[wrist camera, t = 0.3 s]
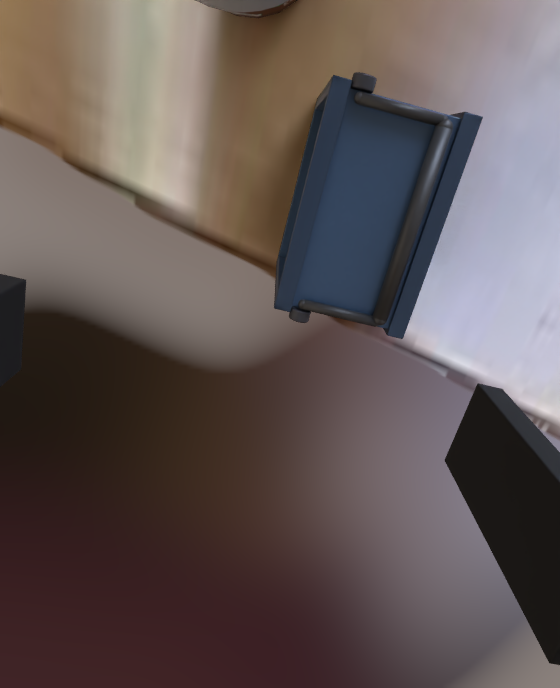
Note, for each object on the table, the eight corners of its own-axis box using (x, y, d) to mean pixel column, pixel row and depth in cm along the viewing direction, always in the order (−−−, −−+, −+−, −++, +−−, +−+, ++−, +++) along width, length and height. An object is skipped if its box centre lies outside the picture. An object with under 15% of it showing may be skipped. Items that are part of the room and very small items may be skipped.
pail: (318, 92, 37) (336, 64, 24) (422, 121, 37) (490, 107, 25) (275, 267, 41) (272, 318, 29) (367, 290, 42) (402, 348, 30)
